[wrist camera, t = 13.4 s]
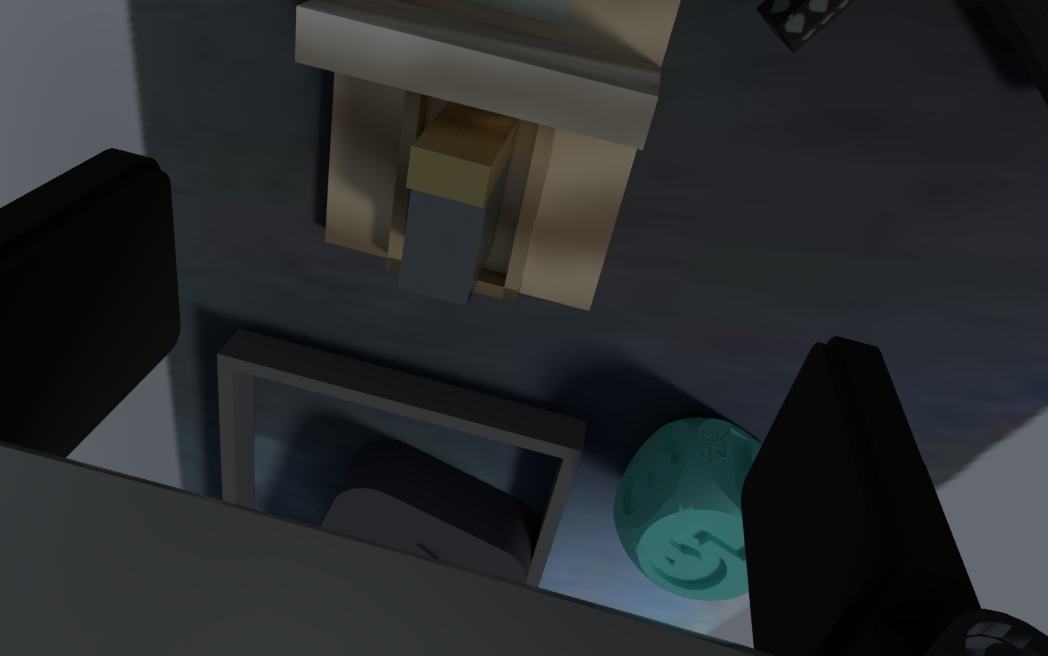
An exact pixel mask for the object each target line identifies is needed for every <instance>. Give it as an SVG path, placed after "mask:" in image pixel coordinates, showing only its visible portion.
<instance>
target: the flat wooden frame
mask: <svg viewBox="0 0 1048 656" xmlns="http://www.w3.org/2000/svg"><path fill="white" fill-rule="evenodd" d="M680 1H681V0H309V1H307V2H304V3H302V4H300V5H298V6H297V12H296V49H295V62H298V63H302V64H306V65H310V66H314V67H318V68H322V69H325V70H329V71H333V72H335V74H334V92H333V110H332V128H331V145H330V163H329V181H328V199H327V217H326V235H325V242H328V243H332V244H336V245H339V246H343V247H347V248H351V249H355V250H359V251H362V252H366V253H370V254H374V255H378V256H381V257H385V258H387V265H386V269H388V270H392V271H396V272H400V268H401V261H402V253H403V246H404V238H405V231H406V223H407V215H408V208H409V200H410V193H411V189H410V188H406V183H407V175H408V167H409V159H410V152H411V145H412V144H413V143H414V142H415V141H416V140H417V138H418V137H419V136H420V135H421V134H422V133H423V131H424V130H425V129H426V128H427V127H428V126H429V125H430V123H431V122H432V121H433V120H434V119H435V118H436V116H437V115H438V114H439V113H440V112H441V111H442V109H443V108H444V107H445V106H446V105H447V104H448V102H449V101H451V102H455V103H459V104H463V105H467V106H471V107H475V108H479V109H483V110H487V111H491V112H495V113H499V114H503V115H507V116H510V117H514V118H518V119H519V120H518V125H517V129H516V134H515V139H514V144H513V149H512V153H511V158H510V163H509V168H508V173H507V178H506V182H505V187H504V192H503V197H502V202H501V206H500V211H499V216H498V221H497V226H496V231H495V235H494V240H493V245H492V250H491V253H490V256H489V258H488V260H487V262H486V264H485V267H484V269H483V271H482V273H481V276H480V278H479V280H478V282H477V284H476V287H475V289H474V291H473V292H476V293H480V294H484V295H488V296H491V297H495V298H499V299H503V300H507V301H510V302H514V303H515V302H516V300H517V297H518V294H519V293H523V294H527V295H531V296H534V297H538V298H542V299H546V300H550V301H553V302H557V303H561V304H565V305H569V306H573V307H576V308H580V309H584V310H588V311H589V310H590V306H591V303H592V300H593V296H594V293H595V289H596V286H597V283H598V279H599V276H600V272H601V269H602V266H603V262H604V259H605V255H606V252H607V249H608V245H609V242H610V238H611V235H612V232H613V228H614V225H615V221H616V218H617V215H618V211H619V208H620V204H621V201H622V198H623V194H624V191H625V187H626V184H627V181H628V177H629V174H630V170H631V167H632V164H633V160H634V157H635V154H636V150H637V149H640V150H643V147H644V144H645V140H646V137H647V134H648V130H649V127H650V124H651V120H652V117H653V114H654V110H655V107H656V104H657V100H658V97H659V84H660V72H661V65H662V62H663V58H664V55H665V52H666V48H667V45H668V41H669V38H670V35H671V31H672V28H673V24H674V21H675V18H676V14H677V11H678V7H679V4H680Z"/></svg>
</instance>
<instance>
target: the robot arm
mask: <svg viewBox="0 0 1048 656" xmlns="http://www.w3.org/2000/svg"><path fill="white" fill-rule="evenodd" d="M179 334H180V311H179V297H178V282H177V268H176V254H175V239H174V225H173V211H172V197H171V184H170V179H169V177H168V175H167V174H166V173H165V172H163V171H161V170H160V167H159V165H158V163H157V162H156V161H155V160H154V159H153V158H149V157H145V156H142V155H138V154H134V153H130V152H126V151H122V150H118V149H114V148H111V149H107V150H105V151H103V152H101V153H99V154H98V155H96V156H94V157H92V158H90V159H89V160H87V161H85V162H83V163H81V164H80V165H78V166H76V167H74V168H72V169H70V170H69V171H67V172H65V173H63V174H61V175H60V176H58V177H56V178H54V179H52V180H51V181H49V182H47V183H45V184H43V185H41V186H40V187H38V188H36V189H34V190H32V191H31V192H29V193H27V194H25V195H24V196H22V197H20V198H18V199H16V200H14V201H12V202H11V203H9V204H7V205H5V206H3V207H2V208H0V656H1048V636H1047V635H1045V634H1044V633H1042V632H1041V631H1039V630H1037V629H1036V628H1034V627H1033V626H1031V625H1030V624H1028V623H1026V622H1024V621H1022V620H1020V619H1017V618H1015V617H1012V616H1010V615H1008V614H1006V613H1002V612H997V611H993V610H987V609H981V607H980V604H979V602H978V599H977V597H976V594H975V591H974V589H973V586H972V584H971V581H970V578H969V576H968V573H967V571H966V568H965V566H964V563H963V560H962V558H961V556H960V553H959V550H958V548H957V546H956V543H955V540H954V538H953V535H952V532H951V530H950V527H949V524H948V522H947V519H946V517H945V514H944V512H943V509H942V506H941V504H940V501H939V499H938V496H937V494H936V491H935V488H934V486H933V483H932V481H931V478H930V476H929V473H928V470H927V468H926V465H925V463H924V462H923V460H922V457H921V455H920V452H919V450H918V447H917V444H916V442H915V439H914V437H913V434H912V431H911V429H910V426H909V424H908V421H907V419H906V416H905V413H904V411H903V408H902V406H901V403H900V400H899V398H898V395H897V393H896V390H895V388H894V385H893V382H892V380H891V377H890V375H889V372H888V369H887V367H886V364H885V362H884V359H883V357H882V354H881V351H880V350H879V348H878V347H876V346H873V345H869V344H865V343H861V342H857V341H853V340H849V339H846V338H842V337H838V336H835V337H833V338H831V339H830V340H829V341H828V343H827V344H824V343H820V342H818V343H816V344H815V345H814V346H813V347H812V348H811V350H810V352H809V354H808V356H807V358H806V360H805V362H804V364H803V366H802V368H801V369H800V371H799V373H798V375H797V377H796V379H795V381H794V383H793V385H792V387H791V389H790V391H789V393H788V395H787V397H786V399H785V401H784V403H783V405H782V407H781V409H780V411H779V413H778V415H777V417H776V419H775V421H774V423H773V425H772V427H771V428H770V430H769V432H768V434H767V436H766V438H765V440H764V442H763V444H762V446H761V448H760V450H759V452H758V454H757V456H756V458H755V460H754V462H753V464H752V466H751V468H750V470H749V472H748V474H747V476H746V478H745V480H744V484H743V487H742V492H741V511H742V522H743V533H744V544H745V555H746V566H747V577H748V588H749V599H750V610H751V621H752V632H753V643H754V649H753V648H750V647H747V646H743V645H740V644H737V643H733V642H729V641H726V640H722V639H719V638H715V637H711V636H708V635H704V634H701V633H697V632H694V631H690V630H687V629H683V628H680V627H677V626H673V625H670V624H666V623H663V622H660V621H656V620H653V619H649V618H646V617H642V616H639V615H635V614H631V613H628V612H624V611H621V610H617V609H614V608H610V607H606V606H603V605H599V604H596V603H592V602H589V601H585V600H581V599H578V598H574V597H571V596H567V595H564V594H560V593H556V592H553V591H549V590H546V589H542V588H539V587H535V586H531V585H528V584H524V583H521V582H517V581H514V580H510V579H506V578H503V577H499V576H496V575H492V574H489V573H485V572H481V571H478V570H474V569H471V568H467V567H464V566H460V565H456V564H453V563H449V562H446V561H442V560H438V559H435V558H431V557H428V556H424V555H420V554H417V553H413V552H409V551H406V550H402V549H399V548H395V547H391V546H388V545H384V544H380V543H377V542H373V541H369V540H366V539H362V538H359V537H355V536H351V535H348V534H344V533H340V532H337V531H333V530H330V529H326V528H322V527H319V526H315V525H311V524H308V523H304V522H300V521H297V520H293V519H289V518H286V517H282V516H278V515H275V514H271V513H267V512H264V511H260V510H256V509H253V508H249V507H245V506H242V505H238V504H234V503H231V502H227V501H223V500H220V499H216V498H212V497H209V496H205V495H201V494H198V493H194V492H190V491H186V490H183V489H179V488H175V487H172V486H167V485H164V484H160V483H157V482H153V481H149V480H145V479H142V478H138V477H134V476H131V475H127V474H122V473H119V472H115V471H112V470H108V469H104V468H100V467H97V466H93V465H89V464H86V463H81V462H78V461H74V460H71V459H67V458H66V457H67V456H68V455H69V454H70V453H71V452H72V451H73V450H74V449H75V448H76V447H77V446H78V445H79V444H80V443H81V442H82V441H83V440H84V439H85V438H86V437H87V436H88V435H89V434H90V433H91V432H92V430H94V429H95V428H96V427H97V425H99V424H100V422H101V421H102V420H103V419H104V418H105V417H106V416H107V415H108V414H109V413H110V412H111V411H112V410H113V409H114V408H115V407H116V406H117V405H118V404H119V403H120V402H121V401H122V400H123V399H124V398H125V397H126V396H127V395H128V394H129V393H130V392H131V391H132V390H133V389H134V388H135V387H136V386H137V385H138V384H139V383H140V382H141V381H142V380H143V379H144V378H145V377H146V376H147V375H148V374H149V373H150V372H151V371H152V370H153V369H154V368H155V367H156V365H157V364H158V363H159V362H160V361H161V360H162V359H163V358H164V357H165V356H166V355H167V354H168V353H169V352H170V351H171V350H172V349H173V348H174V346H175V344H176V342H177V340H178V337H179Z"/></svg>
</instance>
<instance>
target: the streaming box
mask: <svg viewBox="0 0 1048 656" xmlns="http://www.w3.org/2000/svg"><path fill="white" fill-rule="evenodd" d="M320 527H322V528H326V529H330V530H333V531H337V532H340V533H344V534H348V535H351V536H355V537H359V538H362V539H366V540H369V541H373V542H377V543H380V544H384V545H388V546H391V547H395V548H399V549H402V550H406V551H409V552H413V553H417V554H420V555H424V556H428V557H431V558H435V559H438V560H442V561H446V562H449V563H453V564H456V565H460V566H464V567H467V568H471V569H474V570H478V571H481V572H485V573H489V574H492V575H496V576H499V577H503V578H506V579H510V580H514V581H517V582H521V583H524V584H526V583H527V578H528V573H529V568H530V564H531V559H532V554H533V549H534V544H535V539H536V534H537V528H538V527H537V521H536V518H535V516H534V514H533V513H532V512H531V510H530V509H529V508H528V507H527V506H526V505H524V504H523V503H522V502H520V501H518V500H516V499H514V498H512V497H510V496H508V495H506V494H504V493H502V492H500V491H498V490H496V489H494V488H492V487H490V486H488V485H486V484H484V483H482V482H480V481H478V480H476V479H474V478H472V477H470V476H468V475H466V474H464V473H462V472H460V471H458V470H456V469H454V468H452V467H450V466H448V465H446V464H444V463H442V462H440V461H438V460H436V459H434V458H432V457H430V456H428V455H426V454H424V453H422V452H420V451H418V450H416V449H414V448H412V447H410V446H407V445H405V444H402V443H399V442H394V441H377V442H373V443H370V444H368V445H366V446H365V447H363V448H362V449H361V450H360V452H359V453H358V455H357V457H356V459H355V461H354V463H353V464H352V466H351V468H350V470H349V472H348V474H347V476H346V478H345V479H344V481H343V483H342V485H341V487H340V489H339V491H338V493H337V495H336V496H335V498H334V500H333V502H332V504H331V506H330V508H329V510H328V511H327V513H326V515H325V517H324V519H323V521H322V523H321V525H320Z"/></svg>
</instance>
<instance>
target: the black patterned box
mask: <svg viewBox="0 0 1048 656" xmlns="http://www.w3.org/2000/svg"><path fill="white" fill-rule="evenodd" d="M854 1H855V0H765V1H764V2H763V3H762V4H761V5H760V6H759V7H757V8H756V9H757V10H758V11H759V13H760V14H761V15H762V17H763V18H764V20H765V21H766V22H767V24H768V25H769V26H770V28H771V29H772V30H773V32H774V33H775V34H776V35H777V36H778V37H779V38H780V39H781V40H782V41H783V42H784V43H785V44H786V45H787V46H788V48H789V49H790V50H791V51H792V52H793V53H795V52H796V51H797V50H798V49H800V48H801V47H802V46H803V45H804V44H805V43H807V42H808V41H809V40H810V39H811V38H812V37H813V36H815V35H816V34H817V33H818V32H819V31H820V30H822V29H823V28H824V27H825V26H826V25H827V24H829V23H830V22H831V21H832V20H833V19H834V18H836V17H837V16H838V15H839V14H840V13H841V12H843V11H844V10H845V9H846V8H847V7H848V6H849V5H851V4H852V3H853V2H854ZM960 1H961V3H962V5H963V6H964V8H965V9H969V8H974V7H979V6H983V7H984V9H985V10H986V12H987V14H988V16H989V18H990V19H991V21H992V23H993V25H994V26H995V28H996V30H997V32H998V33H999V35H1000V37H1007V36H1009V38H1010V40H1011V42H1012V43H1013V45H1014V47H1015V49H1016V51H1017V52H1018V54H1019V56H1020V58H1021V59H1022V61H1023V63H1024V65H1025V67H1026V68H1027V70H1028V72H1029V74H1030V76H1031V77H1032V79H1033V81H1034V83H1035V84H1036V86H1037V88H1038V90H1039V92H1040V93H1041V95H1042V97H1043V99H1044V101H1045V102H1046V104H1047V106H1048V21H1047V19H1046V17H1045V13H1046V11H1047V10H1048V3H1047V1H1046V0H960Z"/></svg>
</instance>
